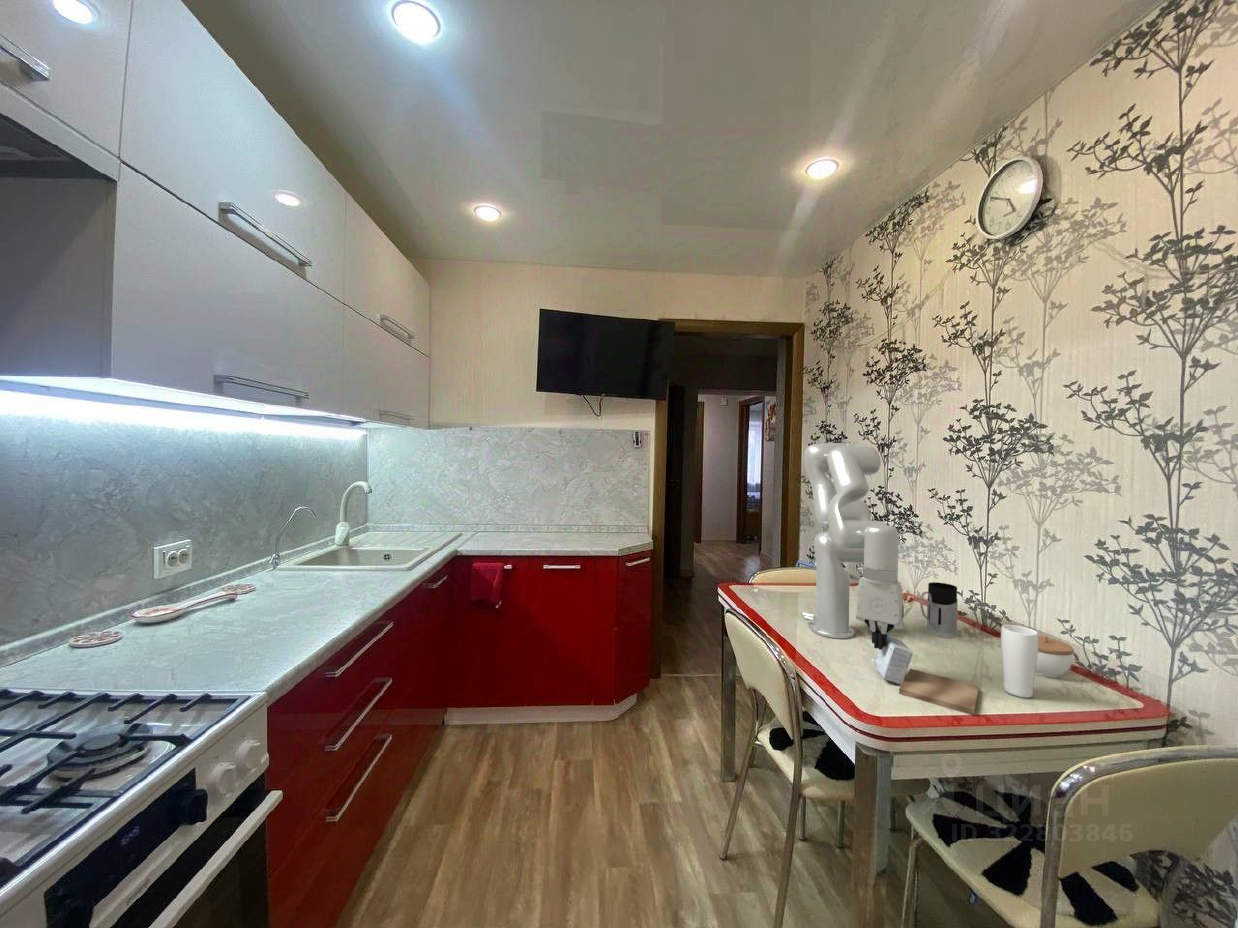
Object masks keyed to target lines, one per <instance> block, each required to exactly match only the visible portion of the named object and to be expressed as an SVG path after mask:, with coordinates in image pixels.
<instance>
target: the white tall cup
mask: <svg viewBox="0 0 1238 928" xmlns="http://www.w3.org/2000/svg"><path fill="white" fill-rule="evenodd" d="M1038 636H1039V633H1038V631H1037V630H1034V629H1032V628H1029V627H1025V626H1021V625H1014V624H1004V625H1003V624H1002V625H1001V629H1000V654H1001V665H1002V667H1001V668H1002V681H1003V683H1002V687H1003V690H1004V691H1005V692H1007V693H1008V694H1009V695H1011V696H1014V697H1017V698H1024V699H1030V698H1032V697H1033V696H1034V684H1035V677H1036V674H1035V671H1036V664H1037V657H1038V645H1039V641H1038Z"/></svg>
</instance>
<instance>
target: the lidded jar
mask: <svg viewBox="0 0 1238 928" xmlns="http://www.w3.org/2000/svg"><path fill="white" fill-rule="evenodd" d="M1038 641H1039V645H1038V657H1037V664H1036V671H1035V675H1038V676H1041V677H1045V678H1052V679H1056V678H1057V679H1058V678H1060V677H1061V676H1062V675H1065V674H1066V673H1068V671H1069V670H1070V669H1071V668H1072V665H1073V660H1074V659H1073V657H1074V647H1073V646H1072V645H1070V644H1068V643H1066V642H1063V641H1062V640H1060V639H1059V640H1058V639H1056V638H1055V639H1054V638H1051V637H1048V636H1047V635H1042V636H1041V635H1038Z"/></svg>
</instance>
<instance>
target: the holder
mask: <svg viewBox="0 0 1238 928" xmlns="http://www.w3.org/2000/svg"><path fill="white" fill-rule="evenodd" d="M927 585H928V587H927V590H928V591H923V592H922V593H921V595H920V598H919V605H920V611H921V613H922V616H923V617H924V618H925V620H926V627H925V628H924V631H925V633H927V634H929V635H931V636H935V637H939V638H944V639H956V638H959V633H958V587H957V585H956V586H955V585H954V584H949V583H944V582H937V581H936V582H934V581H933V582H928V583H927ZM926 594H927V599H926V600H927V605H926V613H925V610H924V596H925V595H926Z"/></svg>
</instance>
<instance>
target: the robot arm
mask: <svg viewBox="0 0 1238 928" xmlns="http://www.w3.org/2000/svg"><path fill="white" fill-rule="evenodd" d="M881 464H882V461H881V456H880V453H879V452H878V450H877V449H876V448H874V447H873V446H870V445H866V444H861V443H857V442H856V443H854V442H851V443H850V442H820V443H819V442H817V443H813V444H810V445H808V446H807V447H806V449H804V453H803V465H804V470H805V473H806V476H807V478H808V481H809V484H810V485H811V486H810V487H811V489H812V491H811V492H812V500H813V506H814V515H815V519H816V522H817V524H818V525H819V526H820V527H823V528H829V530H826V531H821V532H819V533H817V534H816V535H815V537H814V538H813V539H814V540H813V548H814V555H815V563H816V564H815V565H816V577H815V578H816V582H815V584H816V586H815V587H816V588H815V589H816V590H815V591H816V592H815V593H816V595H815V596H816V597H815V613H814V612H813V613H810V612H806V611H804V612H803V613H802V618H803V620H804V621H809V622H811V623H810V627H809V628H810V630H811V631H812V632H813V633H815V634H817V635H819V636H822V637H827V638H832V639H849V638H852V637H854V635H855V629H854V628H852V627H851V626H850V586H851V585H850V582H851V581H850V576H849V573H848V571H847V570H846V569H845V567H843V565H842V564H843V563H863V565H862V566H857V569H856V571H857V572H858V573H861V574H862V576H861V577H859V580H858V585H857V591H856V602H855V619H857V620H858V621H860V622H863V623H865V625H867V626H868V628H869V629H870V631H871V643H872V644H873V648H874V649H878V650H879V649H880V650H882V648H883V647H884V646H886V643H887V636H888V633H889V632H891V630H903V629H905V622H904V617H905V609H904V608H905V606H904V594H903V588H902V584H901V582H900V581H898V579H899V578H898V577H899V574H898V573H899V570H898V569H899V530H898V529H897V528H896V527H895V526H892V525H888V524H886V523H885V522H883V521H880V520H872V518H871V513H870V509H869V507H868V505H867V503H866V502H865V501H864V500H862V499H863V498H865V496H866V495H868V493H869V490H870V487H869V484H868V481H867V479H866V476H865V475H874V474H877V473H878V472H879V471H880V468H881ZM878 623H881V628H879V624H878Z"/></svg>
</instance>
